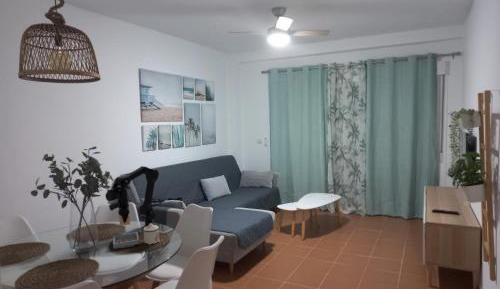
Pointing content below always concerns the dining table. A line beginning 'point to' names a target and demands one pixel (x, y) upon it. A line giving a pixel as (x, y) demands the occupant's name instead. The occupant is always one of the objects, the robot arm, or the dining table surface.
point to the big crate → (126, 241)
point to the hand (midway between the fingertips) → (124, 221)
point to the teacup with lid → (151, 234)
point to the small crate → (123, 221)
